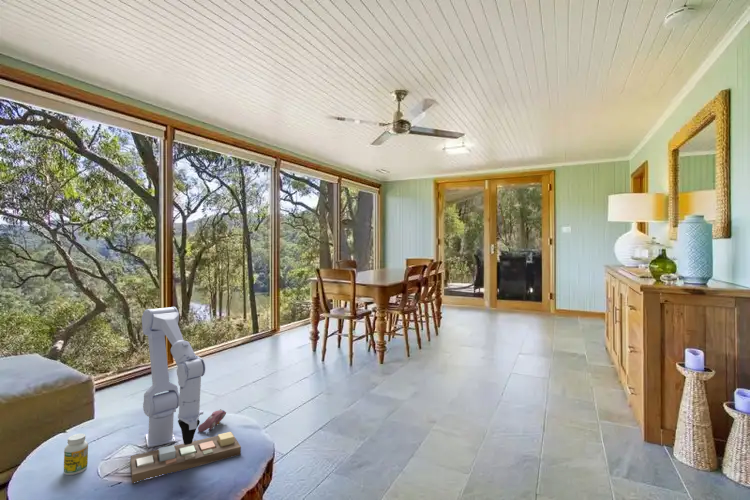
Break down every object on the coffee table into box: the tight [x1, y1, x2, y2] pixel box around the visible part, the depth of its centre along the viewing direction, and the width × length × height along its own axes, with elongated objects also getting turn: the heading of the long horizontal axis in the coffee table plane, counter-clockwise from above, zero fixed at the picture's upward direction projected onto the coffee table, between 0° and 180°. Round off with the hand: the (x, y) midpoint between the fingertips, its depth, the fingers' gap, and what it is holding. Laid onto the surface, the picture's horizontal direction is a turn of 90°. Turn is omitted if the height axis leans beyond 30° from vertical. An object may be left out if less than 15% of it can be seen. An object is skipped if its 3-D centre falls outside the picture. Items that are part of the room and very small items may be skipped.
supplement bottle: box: [63, 433, 89, 476], centre depth 108 cm, size 5×5×10 cm
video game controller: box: [197, 409, 227, 433], centre depth 137 cm, size 10×5×7 cm, turn 169°
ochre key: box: [217, 431, 235, 447], centre depth 123 cm, size 4×4×3 cm
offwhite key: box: [136, 455, 154, 468], centre depth 110 cm, size 4×4×3 cm
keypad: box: [129, 431, 242, 484], centre depth 116 cm, size 11×29×3 cm, turn 125°
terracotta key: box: [199, 441, 215, 451], centre depth 119 cm, size 4×4×3 cm
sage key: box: [179, 445, 196, 457], centre depth 116 cm, size 4×4×3 cm
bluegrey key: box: [158, 444, 176, 462], centre depth 113 cm, size 4×4×3 cm
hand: (187, 443), depth 116 cm, fingers closed
